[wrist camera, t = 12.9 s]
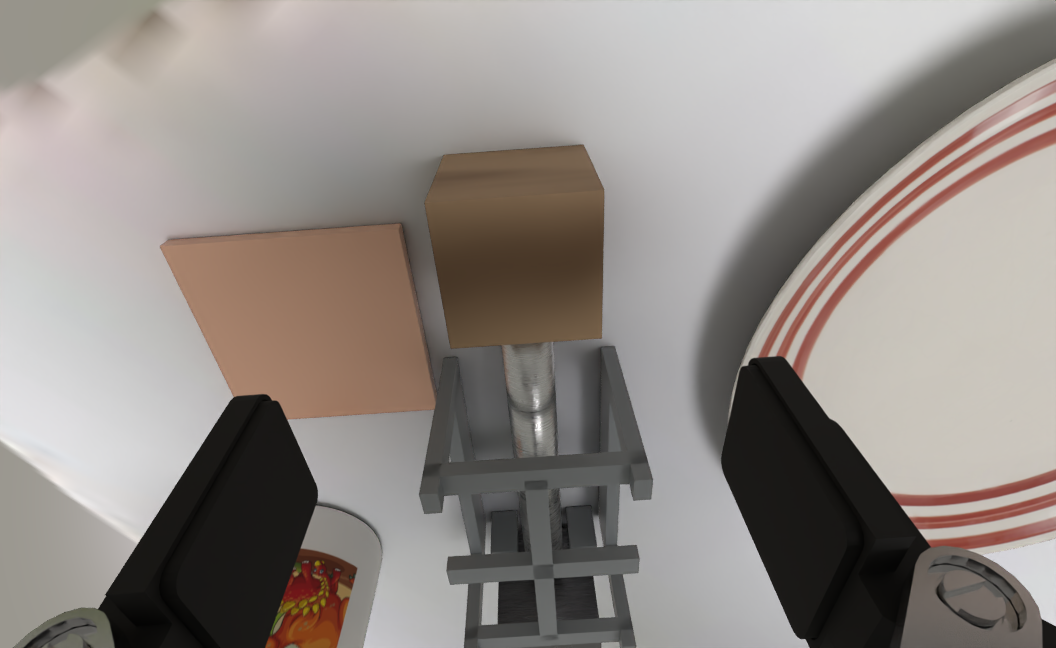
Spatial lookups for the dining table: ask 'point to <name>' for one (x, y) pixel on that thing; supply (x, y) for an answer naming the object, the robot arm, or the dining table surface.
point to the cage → (539, 515)
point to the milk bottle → (330, 585)
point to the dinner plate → (944, 324)
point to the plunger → (536, 438)
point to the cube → (518, 245)
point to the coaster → (311, 317)
